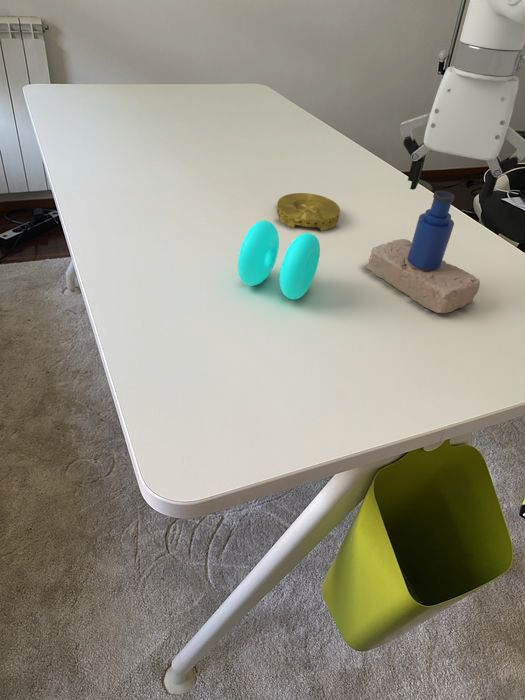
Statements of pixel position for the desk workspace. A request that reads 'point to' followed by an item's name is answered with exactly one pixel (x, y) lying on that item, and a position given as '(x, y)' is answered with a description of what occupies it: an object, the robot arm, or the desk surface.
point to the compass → (308, 211)
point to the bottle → (432, 233)
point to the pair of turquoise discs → (263, 252)
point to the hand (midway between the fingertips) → (447, 193)
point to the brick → (423, 278)
